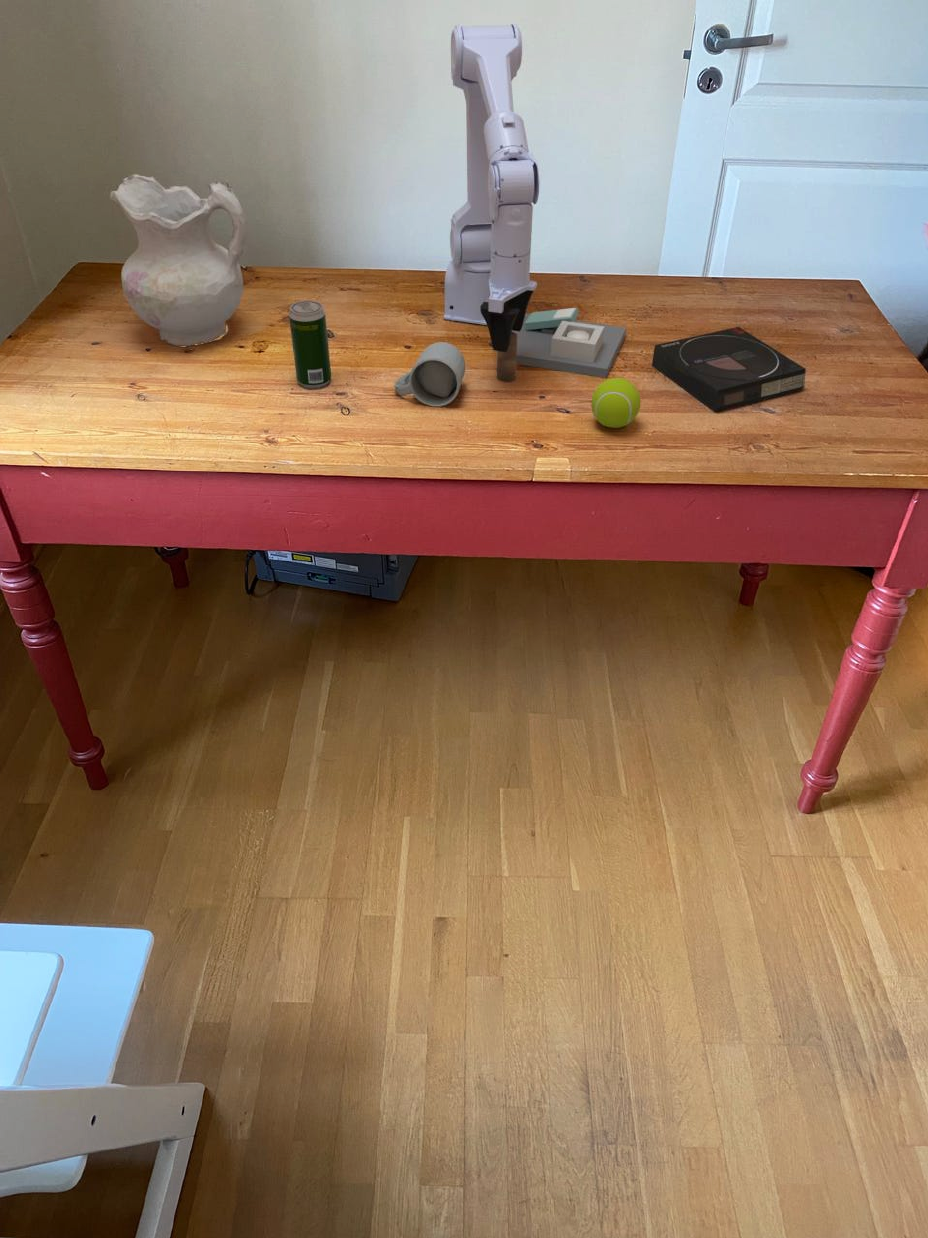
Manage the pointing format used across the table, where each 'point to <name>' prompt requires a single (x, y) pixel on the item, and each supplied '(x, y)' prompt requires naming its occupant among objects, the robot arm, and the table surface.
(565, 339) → the panel
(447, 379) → the ceramic mug
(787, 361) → the portable cd player
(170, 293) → the ceramic pitcher
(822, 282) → the table surface
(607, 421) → the tennis ball
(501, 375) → the dowel
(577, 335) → the cream smooth round part
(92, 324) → the table surface
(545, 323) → the block
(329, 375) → the beer can
